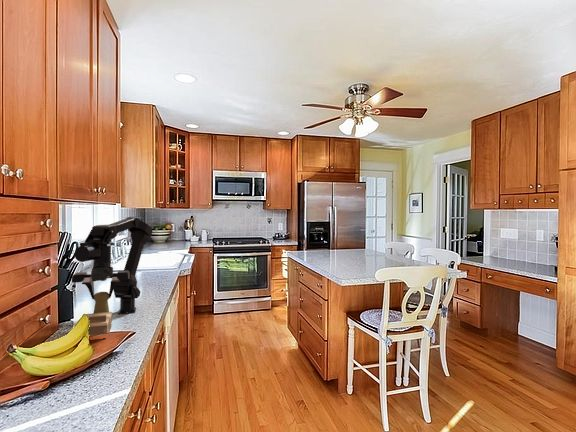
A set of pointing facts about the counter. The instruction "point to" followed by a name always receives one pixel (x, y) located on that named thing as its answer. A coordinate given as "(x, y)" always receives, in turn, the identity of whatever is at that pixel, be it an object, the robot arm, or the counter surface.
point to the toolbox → (100, 329)
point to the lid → (99, 319)
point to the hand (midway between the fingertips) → (101, 298)
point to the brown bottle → (101, 302)
